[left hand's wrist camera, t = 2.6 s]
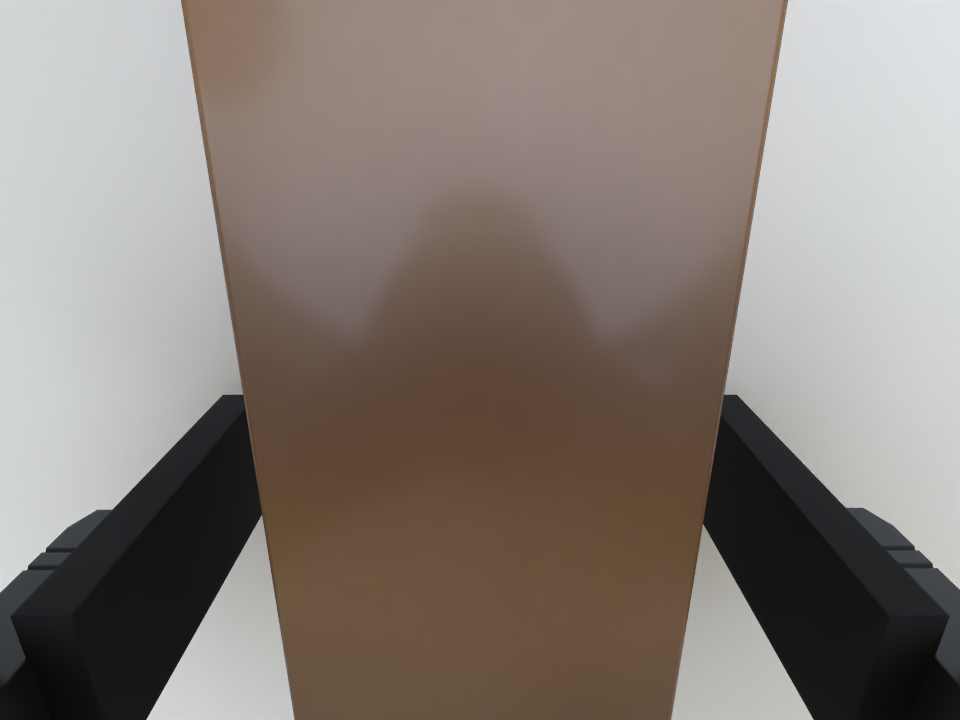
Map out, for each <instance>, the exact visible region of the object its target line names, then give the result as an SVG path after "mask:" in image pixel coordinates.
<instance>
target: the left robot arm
mask: <svg viewBox="0 0 960 720" xmlns="http://www.w3.org/2000/svg"><path fill="white" fill-rule="evenodd" d="M261 515H262V509H261V503H260V497H259V490H258V484H257V478H256V471H255V465H254V459H253V452H252V446H251V440H250V433H249V427H248V421H247V414H246V408H245V402H244V395H222V397H221V398H220V399H219V400H218V401H217V402H216V403H215V404H214V405H213V406H212V407H211V408H210V409H209V410H208V411H207V412H206V413H205V414H204V415H203V416H202V417H201V418H200V419H199V420H198V421H197V423H196V424H195V425H194V426H193V427H192V428H191V429H190V430H189V431H188V432H187V433H186V434H185V435H184V436H183V437H182V438H181V439H180V440H179V441H178V442H177V443H176V444H175V445H174V446H173V447H172V449H171V450H170V451H169V452H168V453H167V454H166V455H165V456H164V457H163V458H162V459H161V460H160V461H159V462H158V463H157V464H156V465H155V466H154V467H153V468H152V469H151V470H150V471H149V472H148V473H147V474H146V476H145V477H144V478H143V479H142V480H141V481H140V482H139V483H138V484H137V485H136V486H135V487H134V488H133V489H132V490H131V491H130V492H129V493H128V494H127V495H126V496H125V497H124V498H123V499H122V500H121V502H120V503H119V504H118V505H117V506H116V507H115V508H114V509H113V510H96V511H95V512H93V513H91V514H90V515H88V516H86V517H85V518H83V519H81V520H80V521H78V522H76V523H75V524H73V525H71V526H70V527H68V528H67V529H66V530H65V531H64V532H63V533H62V534H61V535H60V536H59V537H57V538H56V539H55V540H54V541H53V542H52V543H51V544H50V545H49V546H48V547H47V548H46V552H45V553H41V554H40V555H39V556H38V557H37V558H36V559H35V560H34V561H33V562H32V563H31V564H30V565H29V566H28V570H27V571H22V572H21V573H20V574H19V575H18V576H17V577H16V578H15V579H14V580H13V581H12V582H11V583H10V584H9V585H8V586H7V587H6V588H5V589H4V590H3V591H2V592H1V593H0V720H146V719H147V717H148V716H149V714H150V712H151V710H152V709H153V707H154V705H155V703H156V701H157V700H158V698H159V696H160V694H161V693H162V691H163V689H164V687H165V686H166V684H167V682H168V680H169V678H170V677H171V675H172V673H173V671H174V670H175V668H176V666H177V664H178V662H179V661H180V659H181V657H182V655H183V654H184V652H185V650H186V648H187V646H188V645H189V643H190V641H191V639H192V638H193V636H194V634H195V632H196V631H197V629H198V627H199V625H200V623H201V622H202V620H203V618H204V616H205V615H206V613H207V611H208V609H209V607H210V606H211V604H212V602H213V600H214V599H215V597H216V595H217V593H218V592H219V590H220V588H221V586H222V584H223V583H224V581H225V579H226V577H227V576H228V574H229V572H230V570H231V568H232V567H233V565H234V563H235V561H236V560H237V558H238V556H239V554H240V553H241V551H242V549H243V547H244V545H245V544H246V542H247V540H248V538H249V537H250V535H251V533H252V531H253V529H254V528H255V526H256V524H257V522H258V521H259V519H260V517H261ZM703 524H704V526H705V528H706V529H707V531H708V533H709V535H710V537H711V538H712V540H713V542H714V544H715V545H716V547H717V549H718V551H719V553H720V554H721V556H722V558H723V560H724V561H725V563H726V565H727V567H728V569H729V570H730V572H731V574H732V576H733V577H734V579H735V581H736V583H737V584H738V586H739V588H740V590H741V592H742V593H743V595H744V597H745V599H746V600H747V602H748V604H749V606H750V608H751V609H752V611H753V613H754V615H755V616H756V618H757V620H758V622H759V623H760V625H761V627H762V629H763V631H764V632H765V634H766V636H767V638H768V639H769V641H770V643H771V645H772V647H773V648H774V650H775V652H776V654H777V655H778V657H779V659H780V661H781V662H782V664H783V666H784V668H785V670H786V671H787V673H788V675H789V677H790V678H791V680H792V682H793V684H794V686H795V687H796V689H797V691H798V693H799V694H800V696H801V698H802V700H803V701H804V703H805V705H806V707H807V709H808V710H809V712H810V714H811V716H812V717H813V719H814V720H960V590H959V589H958V588H957V587H956V586H955V585H954V584H953V583H952V582H951V581H950V580H949V579H948V578H947V577H946V576H945V575H944V574H943V573H942V572H941V571H939V570H938V569H937V568H933V564H932V563H931V562H930V561H929V560H928V559H927V558H926V557H925V556H924V555H923V554H922V553H921V552H920V551H915V546H914V545H913V544H911V543H910V542H909V541H908V540H907V539H906V538H905V537H904V536H903V535H902V534H901V533H900V532H899V531H898V530H897V529H896V528H895V527H894V526H893V525H891V524H889V523H888V522H886V521H884V520H883V519H881V518H879V517H878V516H876V515H874V514H872V513H871V512H869V511H867V510H866V509H864V508H845V507H844V506H843V505H842V504H841V503H840V502H839V500H838V499H837V498H836V497H835V496H834V495H833V494H832V493H831V492H830V491H829V490H828V489H827V488H826V487H825V486H824V485H823V484H822V483H821V482H820V481H819V480H818V479H817V478H816V477H815V476H814V475H813V473H812V472H811V471H810V470H809V469H808V468H807V467H806V466H805V465H804V464H803V463H802V462H801V461H800V460H799V459H798V458H797V457H796V456H795V455H794V454H793V453H792V452H791V451H790V450H789V449H788V447H787V446H786V445H785V444H784V443H783V442H782V441H781V440H780V439H779V438H778V437H777V436H776V435H775V434H774V433H773V432H772V431H771V430H770V429H769V428H768V427H767V426H766V425H765V424H764V423H763V421H762V420H761V419H760V418H759V417H758V416H757V415H756V414H755V413H754V412H753V411H752V410H751V409H750V408H749V407H748V406H747V405H746V404H745V403H744V402H743V401H742V400H741V399H740V398H739V397H738V396H737V395H724V397H723V403H722V409H721V415H720V421H719V427H718V434H717V440H716V446H715V452H714V458H713V464H712V470H711V477H710V483H709V489H708V495H707V501H706V507H705V513H704V520H703Z"/></svg>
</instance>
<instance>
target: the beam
mask: <svg viewBox="0 0 960 720" xmlns="http://www.w3.org/2000/svg"><path fill="white" fill-rule="evenodd" d="M181 3H182V9H183V15H184V22H185V28H186V34H187V41H188V47H189V53H190V60H191V66H192V72H193V79H194V85H195V91H196V98H197V104H198V110H199V117H200V123H201V129H202V136H203V142H204V148H205V155H206V161H207V167H208V174H209V180H210V186H211V193H212V199H213V205H214V212H215V218H216V224H217V231H218V237H219V243H220V250H221V256H222V262H223V269H224V275H225V281H226V288H227V294H228V300H229V307H230V313H231V319H232V326H233V332H234V338H235V345H236V351H237V357H238V364H239V370H240V376H241V383H242V389H243V395H244V402H245V408H246V414H247V421H248V427H249V433H250V440H251V446H252V452H253V459H254V465H255V471H256V478H257V484H258V490H259V497H260V503H261V509H262V516H263V522H264V528H265V535H266V541H267V547H268V554H269V560H270V566H271V573H272V579H273V585H274V592H275V598H276V604H277V611H278V617H279V623H280V630H281V636H282V642H283V649H284V655H285V661H286V668H287V674H288V680H289V687H290V693H291V699H292V706H293V712H294V718H295V720H671V716H672V710H673V704H674V698H675V692H676V686H677V679H678V673H679V667H680V661H681V655H682V649H683V643H684V636H685V630H686V624H687V618H688V612H689V606H690V600H691V593H692V587H693V581H694V575H695V569H696V563H697V556H698V550H699V544H700V538H701V532H702V526H703V520H704V513H705V507H706V501H707V495H708V489H709V483H710V477H711V470H712V464H713V458H714V452H715V446H716V440H717V434H718V427H719V421H720V415H721V409H722V403H723V397H724V390H725V384H726V378H727V372H728V366H729V360H730V354H731V347H732V341H733V335H734V329H735V323H736V317H737V311H738V304H739V298H740V292H741V286H742V280H743V274H744V268H745V261H746V255H747V249H748V243H749V237H750V231H751V224H752V218H753V212H754V206H755V200H756V194H757V188H758V181H759V175H760V169H761V163H762V157H763V151H764V145H765V138H766V132H767V126H768V120H769V114H770V108H771V102H772V95H773V89H774V83H775V77H776V71H777V65H778V58H779V52H780V46H781V40H782V34H783V28H784V22H785V15H786V9H787V3H788V0H181Z"/></svg>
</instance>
